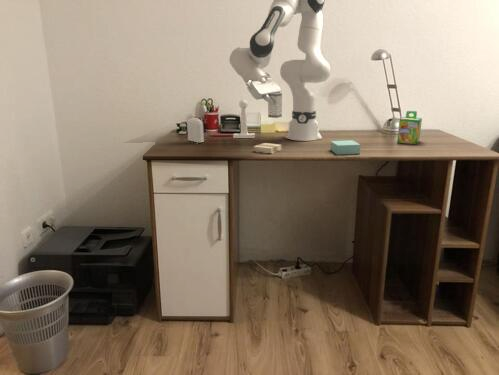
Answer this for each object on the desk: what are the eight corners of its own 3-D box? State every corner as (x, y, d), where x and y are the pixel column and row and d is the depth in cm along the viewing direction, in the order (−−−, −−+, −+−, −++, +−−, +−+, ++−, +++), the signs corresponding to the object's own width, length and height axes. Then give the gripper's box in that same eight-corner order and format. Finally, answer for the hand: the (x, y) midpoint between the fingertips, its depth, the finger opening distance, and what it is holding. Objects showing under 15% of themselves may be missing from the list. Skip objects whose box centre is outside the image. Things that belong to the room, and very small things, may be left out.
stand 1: (264, 148, 199) (264, 142, 198) (281, 150, 194) (281, 144, 193) (253, 151, 192) (253, 146, 191) (270, 153, 187) (270, 148, 186)
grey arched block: (186, 141, 218) (185, 117, 214) (194, 140, 221) (192, 116, 217) (197, 144, 210) (196, 119, 207) (205, 143, 213) (203, 118, 209)
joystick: (233, 139, 222) (232, 100, 216) (234, 136, 229) (233, 98, 223) (254, 139, 221) (254, 99, 216) (254, 136, 229) (254, 98, 223)
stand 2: (330, 149, 193) (331, 141, 191) (352, 149, 194) (352, 140, 192) (337, 154, 183) (337, 145, 182) (359, 153, 184) (360, 144, 183)
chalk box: (397, 143, 204) (399, 112, 200) (400, 139, 212) (402, 109, 208) (417, 144, 200) (420, 112, 196) (419, 141, 208) (423, 110, 204)
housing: (272, 116, 189) (272, 93, 186) (281, 116, 187) (281, 93, 184) (268, 117, 185) (268, 93, 183) (277, 117, 183) (277, 94, 180)
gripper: (248, 75, 176) (269, 100, 174) (271, 73, 193) (290, 96, 191) (239, 86, 179) (260, 111, 177) (262, 83, 196) (281, 105, 194)
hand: (276, 103), depth 184 cm, fingers closed on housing, 4 cm apart
